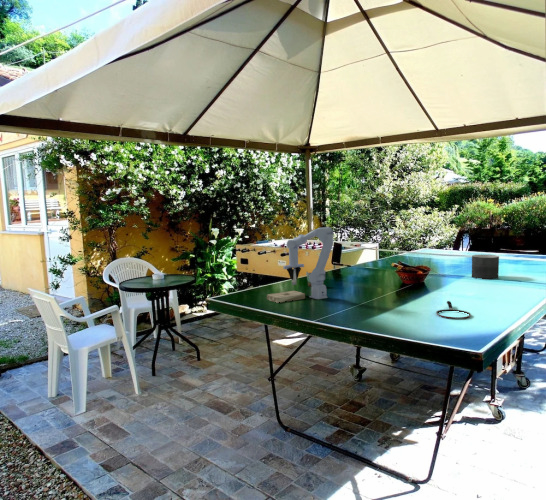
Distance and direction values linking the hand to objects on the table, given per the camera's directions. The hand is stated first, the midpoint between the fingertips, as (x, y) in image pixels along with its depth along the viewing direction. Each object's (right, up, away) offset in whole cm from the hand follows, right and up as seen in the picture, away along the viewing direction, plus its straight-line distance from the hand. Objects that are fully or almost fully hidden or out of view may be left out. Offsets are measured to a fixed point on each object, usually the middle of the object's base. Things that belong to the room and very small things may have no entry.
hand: (294, 279), depth 284 cm
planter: (+142, -2, +40) cm, 147 cm away
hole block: (-6, -11, -13) cm, 18 cm away
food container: (+15, -7, +24) cm, 29 cm away
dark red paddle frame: (+79, -14, -55) cm, 97 cm away
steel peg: (0, -3, 0) cm, 3 cm away
